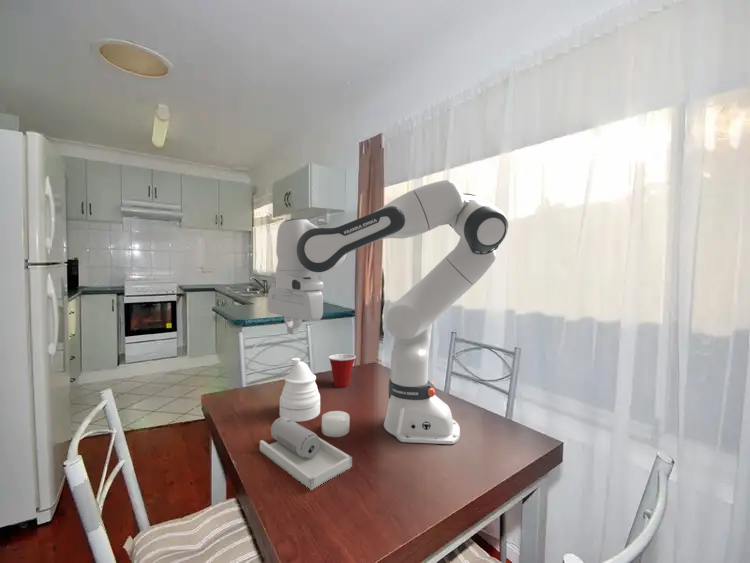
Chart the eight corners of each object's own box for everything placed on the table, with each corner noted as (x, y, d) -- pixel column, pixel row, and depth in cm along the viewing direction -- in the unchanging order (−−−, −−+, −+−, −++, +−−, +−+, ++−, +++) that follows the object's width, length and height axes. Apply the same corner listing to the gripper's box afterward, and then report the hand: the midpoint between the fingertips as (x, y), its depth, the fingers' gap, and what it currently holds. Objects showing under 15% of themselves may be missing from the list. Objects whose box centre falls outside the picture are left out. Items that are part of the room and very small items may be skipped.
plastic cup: (350, 379, 144) (350, 350, 143) (359, 388, 134) (359, 357, 133) (324, 382, 139) (325, 353, 139) (332, 391, 129) (332, 360, 129)
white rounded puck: (352, 425, 103) (352, 412, 103) (344, 438, 95) (344, 424, 95) (327, 422, 105) (327, 409, 105) (317, 434, 97) (317, 421, 97)
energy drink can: (292, 422, 97) (326, 442, 87) (277, 442, 94) (311, 465, 84) (280, 411, 94) (314, 430, 84) (264, 430, 91) (298, 453, 81)
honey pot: (297, 425, 102) (298, 366, 101) (271, 413, 110) (271, 358, 109) (328, 411, 113) (329, 357, 112) (302, 401, 120) (302, 350, 119)
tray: (259, 450, 89) (259, 441, 89) (298, 434, 97) (299, 425, 97) (311, 490, 74) (311, 479, 74) (352, 467, 82) (352, 457, 82)
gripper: (261, 279, 95) (261, 329, 95) (307, 284, 81) (306, 342, 82) (281, 279, 99) (281, 326, 100) (327, 283, 86) (326, 338, 86)
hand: (292, 333), depth 91 cm, fingers closed
